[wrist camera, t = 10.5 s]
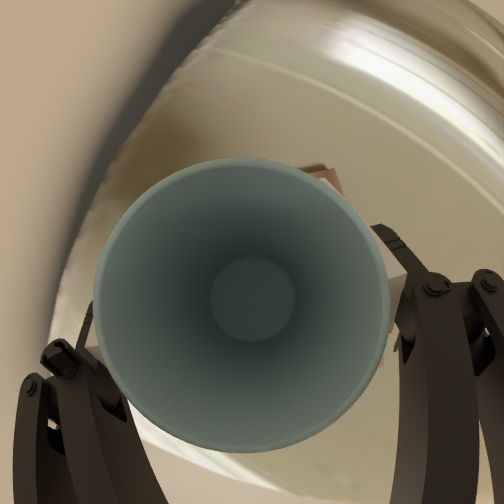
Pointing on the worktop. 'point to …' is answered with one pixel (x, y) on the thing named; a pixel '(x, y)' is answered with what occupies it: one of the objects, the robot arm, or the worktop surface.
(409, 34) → the worktop surface
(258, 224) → the cup
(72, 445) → the robot arm
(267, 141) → the worktop surface
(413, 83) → the worktop surface
